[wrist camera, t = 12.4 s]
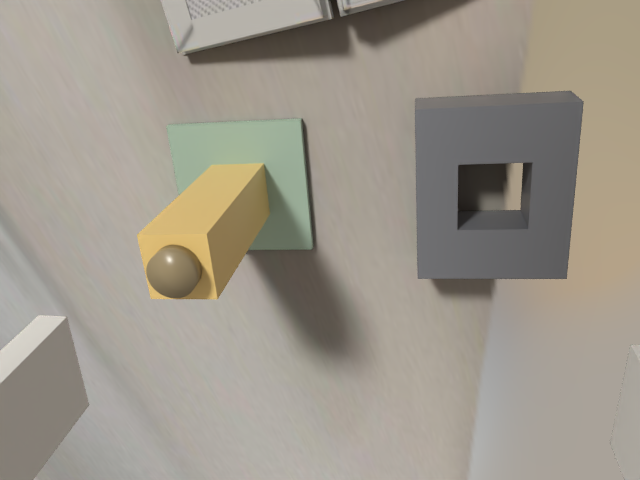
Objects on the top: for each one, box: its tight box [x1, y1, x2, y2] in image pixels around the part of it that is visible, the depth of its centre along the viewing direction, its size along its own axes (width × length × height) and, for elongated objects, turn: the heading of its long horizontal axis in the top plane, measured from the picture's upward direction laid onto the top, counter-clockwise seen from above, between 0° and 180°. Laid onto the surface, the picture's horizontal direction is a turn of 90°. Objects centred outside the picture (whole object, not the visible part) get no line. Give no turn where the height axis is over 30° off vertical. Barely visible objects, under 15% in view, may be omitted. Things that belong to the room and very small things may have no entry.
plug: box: [137, 163, 270, 299], centre depth 39 cm, size 4×4×14 cm
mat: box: [166, 118, 313, 250], centre depth 45 cm, size 10×10×1 cm
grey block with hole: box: [415, 91, 583, 279], centre depth 41 cm, size 12×10×4 cm
